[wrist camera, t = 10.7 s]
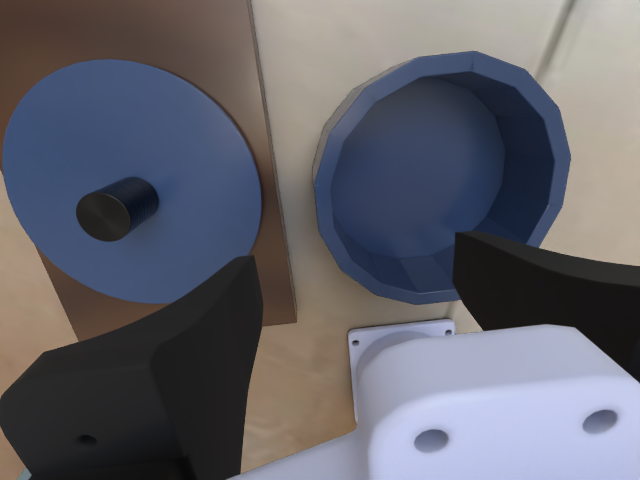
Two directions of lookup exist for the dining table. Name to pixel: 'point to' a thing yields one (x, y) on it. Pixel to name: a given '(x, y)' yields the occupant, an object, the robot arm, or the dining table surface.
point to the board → (172, 56)
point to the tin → (436, 170)
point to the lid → (130, 179)
